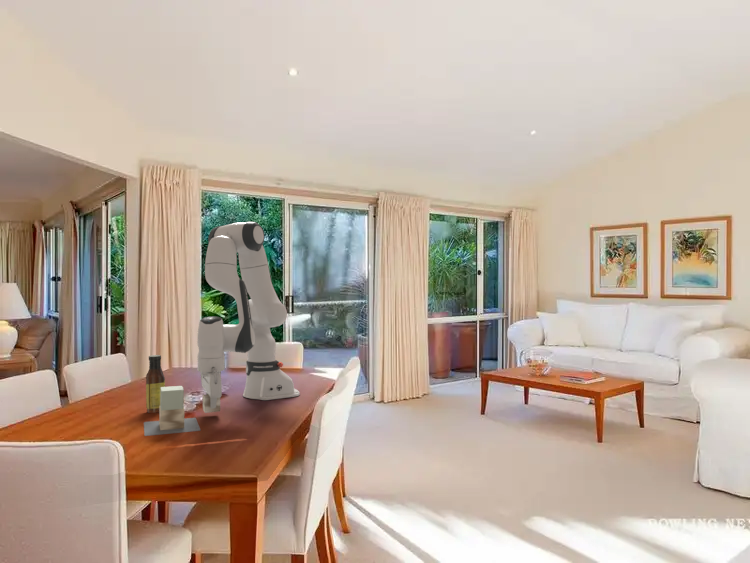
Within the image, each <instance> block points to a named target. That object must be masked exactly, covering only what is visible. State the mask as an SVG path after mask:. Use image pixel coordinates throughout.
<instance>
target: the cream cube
mask: <svg viewBox="0 0 750 563" xmlns="http://www.w3.org/2000/svg"><path fill="white" fill-rule="evenodd" d="M202 410H203V412H204V413H205V414H208V413H209V414H210V413H218V412H221V397H220V398H217V401H216V408H211V407H210V396H209V395H208V394H207V395H206V394H202Z"/></svg>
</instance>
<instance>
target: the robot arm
mask: <svg viewBox="0 0 750 563" xmlns="http://www.w3.org/2000/svg"><path fill="white" fill-rule="evenodd" d="M207 239H208V240H207V241H208V244H207V250H206V255H205V261H204V262H205V265H204V276H205V280H206V282H207V283H208V285H209V286H210V287H211V288H213V289H215V290H217V291H219V292H222V293H224V294H228V296H232V297H233V299H235V302H236V307H237V314H238V315H237V316H238V323H237V324H224V321H223V319H222V317H220V316H205V317H202V318H201V319H199V322H198V330H197V341H196V342H197V343H196V344H197V348H198V353H197V371H198V372H199V374H200V380H201V386H202V388H203V389H204V391H205V395H207V394H208V395H209V396H210V407H211V408H216V401H217V398H220V399H221V397H222V395H223V394H222V393H223V391H222V387H223V386H222V376H221V375H222V371H225V370H226V369H225V368H226V364H225V362H226V360H225V358H226V355H225V353H227V352H228V353H229V352H233V353H234V352H235V353H242V354H247V360H246V364H245V373H246V374H245V375H246V379H245V384H244V385H245V386H244V390H243V394H242V396H243V397H244V398H247V399H251V400H261V401H270V400H280V399H285V398H293V397H294V398H295V397H299V396H300V391H299V390H298V389H297V388H295V386H294V382H293V378H292V377H290V376H289V375H288V374H287V373H286V372H284V371H283V370H281V368H283V367H284V363H283V362H282V361H278V360H276V348H277V347H276V344H277V343H276V340H275V338H274V337H273V335H272V333H271V332H272V331H271V328H277V327H279V326H281V325H283V324H284V323H285V322H286V320H287V318H288V317H287V316H288V312H287V308H286V306H285V305H284V304H283V303H282V302H281V301H280V299H279V297H278V294H277V293H276V290H275V288H274V286H273V283H272V278H271V273H270V269H269V261H268V257H267V254H266V250H265V248H264V245H263V244H264V241H265V231H264V229H263V228H262V226H261V225H260V224H259V223H258V222H256V221H245V222H243V221H242V222H233V223H229V224H226V225H219V226H215V227H213V228H212V229H211V230H210V231H209V235H208V238H207ZM237 254H238V258H237ZM237 259H238V260H237ZM237 263H238V264H239V268H240V269H239V270H240V276H241V278H240V277H239V274H238V271H237V270H238V269H237V268H238V265H237ZM248 295H249V296H248ZM249 298H250V299H249Z"/></svg>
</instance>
